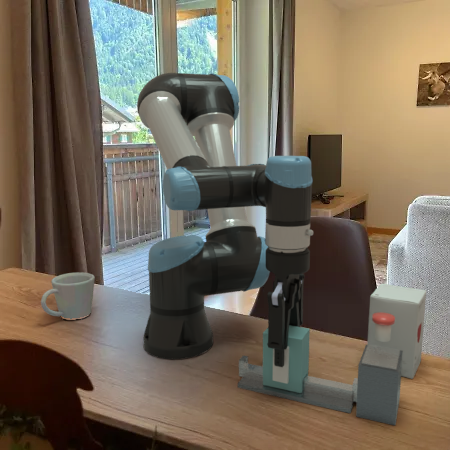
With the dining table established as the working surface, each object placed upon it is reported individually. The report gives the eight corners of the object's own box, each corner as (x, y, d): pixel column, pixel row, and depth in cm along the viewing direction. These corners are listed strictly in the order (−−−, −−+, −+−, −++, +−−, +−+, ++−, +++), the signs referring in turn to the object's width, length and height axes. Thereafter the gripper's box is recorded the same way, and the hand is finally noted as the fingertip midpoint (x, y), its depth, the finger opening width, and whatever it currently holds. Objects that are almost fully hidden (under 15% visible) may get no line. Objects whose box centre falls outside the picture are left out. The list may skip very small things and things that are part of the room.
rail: (233, 386, 85) (233, 366, 84) (247, 369, 91) (247, 350, 90) (355, 414, 76) (356, 392, 75) (361, 393, 82) (362, 372, 81)
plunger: (370, 340, 75) (371, 318, 74) (372, 332, 78) (374, 311, 77) (392, 344, 73) (393, 321, 72) (394, 336, 76) (395, 314, 76)
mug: (105, 312, 121) (103, 275, 119) (57, 333, 109) (54, 292, 107) (78, 305, 127) (75, 270, 125) (29, 324, 114) (26, 285, 112)
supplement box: (413, 380, 86) (419, 303, 84) (365, 368, 91) (368, 295, 88) (422, 360, 94) (427, 289, 91) (377, 350, 99) (380, 282, 96)
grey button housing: (356, 416, 75) (358, 363, 74) (363, 392, 82) (365, 342, 81) (395, 425, 73) (398, 370, 71) (399, 399, 80) (402, 349, 78)
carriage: (262, 385, 83) (262, 332, 81) (271, 372, 88) (272, 322, 86) (300, 393, 80) (302, 339, 79) (308, 380, 85) (309, 328, 83)
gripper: (293, 262, 70) (290, 404, 74) (322, 238, 86) (318, 356, 90) (246, 257, 73) (247, 393, 77) (283, 235, 89) (281, 349, 93)
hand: (285, 373), depth 84 cm, fingers closed on carriage, 5 cm apart
